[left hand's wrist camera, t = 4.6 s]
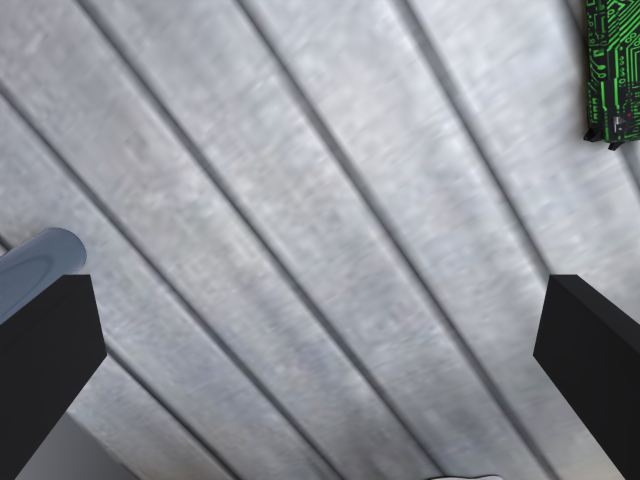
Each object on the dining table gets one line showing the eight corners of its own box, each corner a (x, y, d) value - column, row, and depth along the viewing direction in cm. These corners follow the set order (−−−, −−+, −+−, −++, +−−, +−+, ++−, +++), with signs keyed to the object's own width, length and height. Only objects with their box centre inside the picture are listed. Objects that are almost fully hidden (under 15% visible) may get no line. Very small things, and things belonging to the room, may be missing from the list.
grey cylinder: (25, 251, 42) (-150, 359, 27) (53, 217, 41) (-114, 309, 25) (68, 283, 44) (-76, 404, 28) (96, 251, 42) (-37, 359, 27)
